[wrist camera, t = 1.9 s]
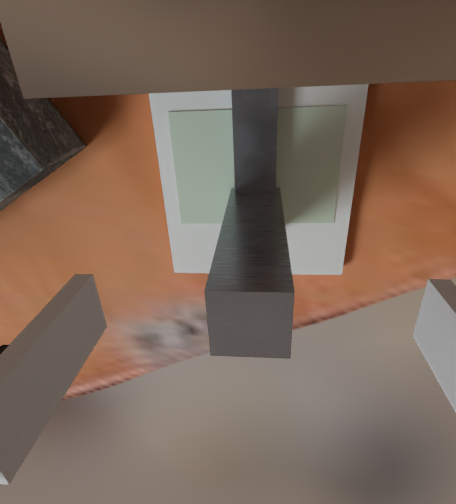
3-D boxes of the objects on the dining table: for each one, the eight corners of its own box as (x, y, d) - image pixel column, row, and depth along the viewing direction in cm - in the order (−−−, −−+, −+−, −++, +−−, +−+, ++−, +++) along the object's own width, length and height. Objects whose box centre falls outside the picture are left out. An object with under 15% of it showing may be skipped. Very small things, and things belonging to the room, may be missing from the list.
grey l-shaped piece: (197, -98, 15) (76, -393, 5) (312, -109, 14) (413, -459, 5) (218, 231, 23) (185, 354, 13) (294, 231, 22) (317, 359, 12)
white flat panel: (94, -347, 13) (80, -380, 12) (429, -408, 12) (444, -451, 11) (177, 265, 26) (174, 273, 25) (339, 267, 24) (342, 275, 24)
